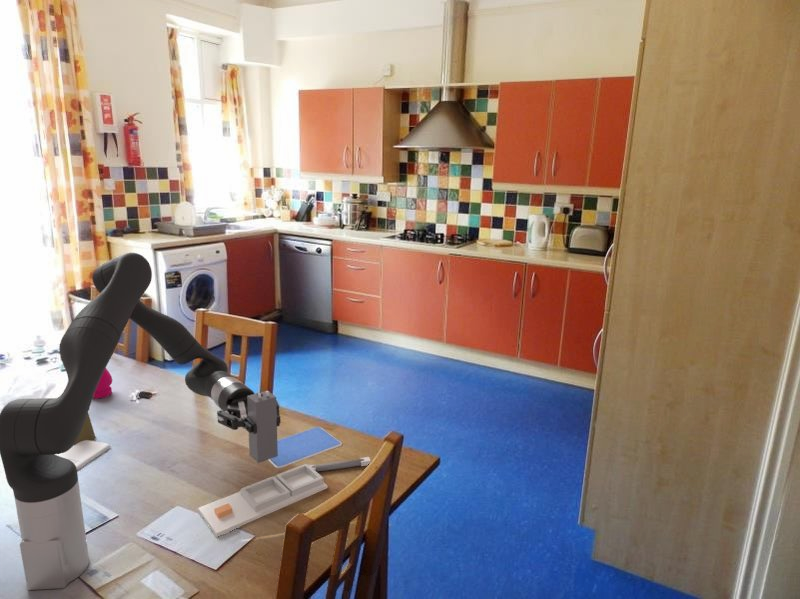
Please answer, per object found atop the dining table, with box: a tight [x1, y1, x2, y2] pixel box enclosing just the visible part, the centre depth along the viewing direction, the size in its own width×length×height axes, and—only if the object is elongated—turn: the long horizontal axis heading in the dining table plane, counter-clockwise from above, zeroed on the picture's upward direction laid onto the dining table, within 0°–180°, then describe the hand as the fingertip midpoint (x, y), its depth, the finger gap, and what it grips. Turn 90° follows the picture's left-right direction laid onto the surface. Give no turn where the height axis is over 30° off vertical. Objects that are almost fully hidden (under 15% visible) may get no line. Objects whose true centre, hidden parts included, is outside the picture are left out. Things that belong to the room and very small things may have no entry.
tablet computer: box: [268, 426, 343, 469], centre depth 138 cm, size 19×13×1 cm, turn 129°
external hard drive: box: [57, 440, 111, 471], centre depth 129 cm, size 2×8×12 cm
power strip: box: [197, 462, 328, 538], centre depth 115 cm, size 26×10×2 cm, turn 131°
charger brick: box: [247, 389, 278, 464], centre depth 111 cm, size 4×5×15 cm
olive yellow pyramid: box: [72, 409, 96, 447], centre depth 136 cm, size 6×6×11 cm
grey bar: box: [305, 456, 372, 473], centre depth 128 cm, size 16×2×2 cm, turn 107°
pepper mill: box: [93, 367, 113, 399], centre depth 161 cm, size 7×7×20 cm
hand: (266, 425), depth 110 cm, fingers closed on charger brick, 4 cm apart
